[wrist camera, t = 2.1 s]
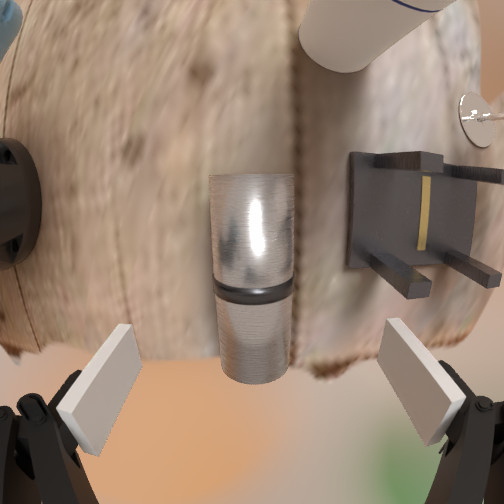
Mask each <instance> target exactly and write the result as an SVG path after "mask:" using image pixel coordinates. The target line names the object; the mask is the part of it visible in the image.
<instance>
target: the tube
mask: <svg viewBox="0 0 504 504" xmlns="http://www.w3.org/2000/svg"><path fill="white" fill-rule="evenodd" d="M209 191H210V215H211V235H212V253H213V269H214V273H213V288H214V293H215V297H216V310H217V322H218V334H219V345H220V355H221V365H222V369H223V371H224V373H225V374H226V375H227V376H228V377H230V378H231V379H233V380H235V381H237V382H241V383H245V384H264V383H269V382H272V381H274V380H276V379H278V378H280V377H281V376H282V375H283V374H284V373H285V372H286V371H287V369H288V365H289V351H290V333H291V313H292V293H293V291H294V271H293V254H294V174H226V175H209Z"/></svg>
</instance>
